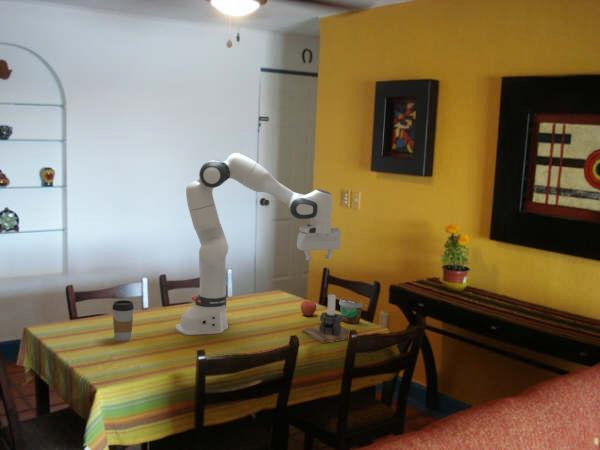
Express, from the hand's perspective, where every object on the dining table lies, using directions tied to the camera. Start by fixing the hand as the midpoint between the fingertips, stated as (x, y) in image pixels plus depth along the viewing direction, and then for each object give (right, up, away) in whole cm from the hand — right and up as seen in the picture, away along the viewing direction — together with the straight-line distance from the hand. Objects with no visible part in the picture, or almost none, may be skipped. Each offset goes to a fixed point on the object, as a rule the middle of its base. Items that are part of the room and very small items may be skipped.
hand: (317, 259), depth 296 cm
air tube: (+5, -31, -1) cm, 31 cm away
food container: (+14, -30, +20) cm, 38 cm away
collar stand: (+5, -32, -1) cm, 33 cm away
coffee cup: (-78, -31, -19) cm, 86 cm away
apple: (-4, -28, +28) cm, 39 cm away
